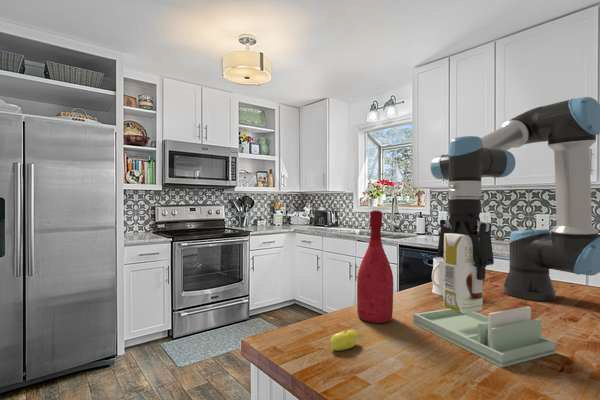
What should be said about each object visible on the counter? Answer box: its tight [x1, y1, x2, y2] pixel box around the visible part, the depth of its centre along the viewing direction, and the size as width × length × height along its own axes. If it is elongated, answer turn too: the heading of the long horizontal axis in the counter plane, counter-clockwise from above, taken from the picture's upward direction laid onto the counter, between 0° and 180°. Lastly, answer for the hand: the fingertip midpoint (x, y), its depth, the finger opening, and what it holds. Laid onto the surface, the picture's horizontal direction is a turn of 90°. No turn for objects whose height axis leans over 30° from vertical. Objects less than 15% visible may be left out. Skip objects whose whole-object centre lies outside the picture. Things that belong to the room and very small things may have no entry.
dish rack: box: [413, 306, 557, 368], centre depth 81 cm, size 17×25×9 cm
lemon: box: [329, 329, 360, 351], centre depth 74 cm, size 4×8×4 cm, turn 124°
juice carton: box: [442, 233, 484, 313], centre depth 84 cm, size 8×9×19 cm
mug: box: [431, 257, 444, 297], centre depth 118 cm, size 12×8×12 cm
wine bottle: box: [356, 209, 394, 324], centre depth 92 cm, size 10×10×30 cm
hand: (462, 288), depth 85 cm, fingers closed on juice carton, 8 cm apart
